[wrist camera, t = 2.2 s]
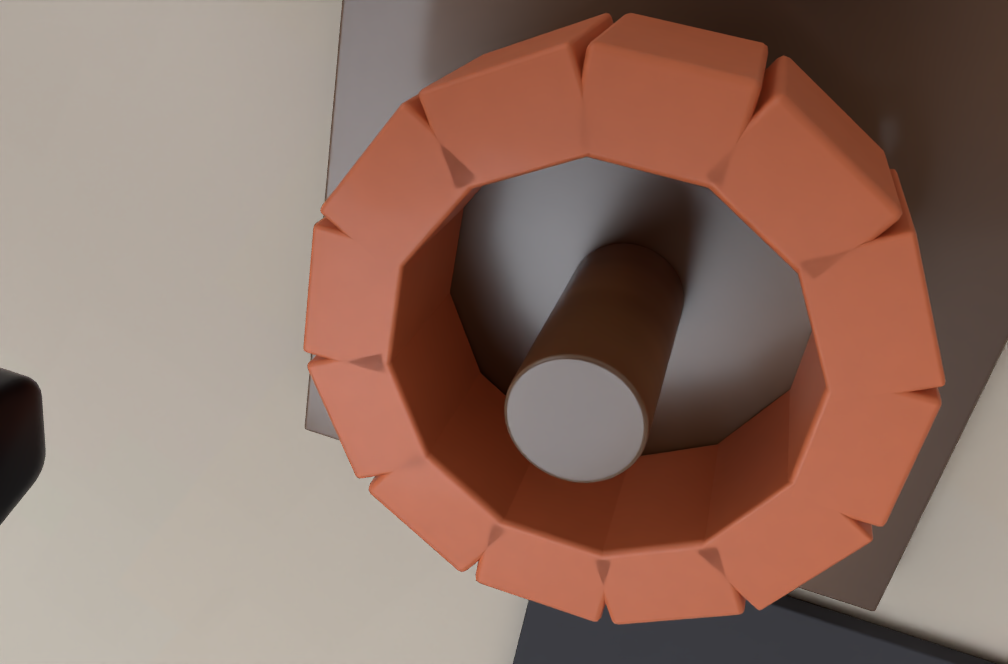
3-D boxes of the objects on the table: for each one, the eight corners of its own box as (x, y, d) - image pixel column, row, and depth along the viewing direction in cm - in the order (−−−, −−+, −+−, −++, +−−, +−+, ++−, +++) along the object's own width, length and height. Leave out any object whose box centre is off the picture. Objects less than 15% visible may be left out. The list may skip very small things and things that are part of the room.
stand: (1170, -52, 12) (1479, 11, 7) (871, 576, 18) (904, 910, 12) (386, -208, 14) (112, -261, 9) (325, 404, 19) (130, 623, 14)
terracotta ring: (1013, 99, 11) (1063, 152, 9) (806, 578, 14) (807, 697, 12) (412, -39, 12) (331, -20, 10) (355, 434, 16) (287, 520, 14)
